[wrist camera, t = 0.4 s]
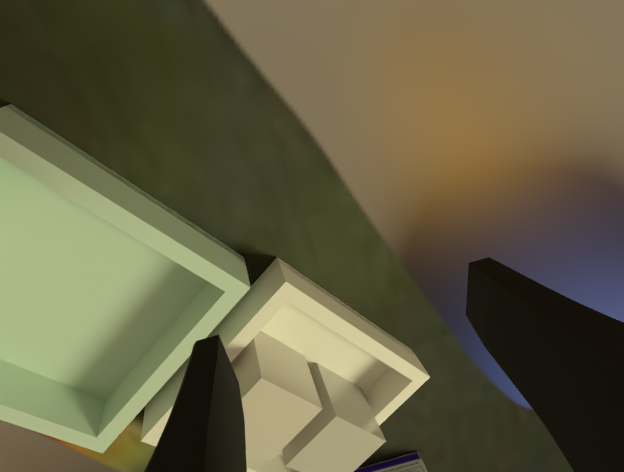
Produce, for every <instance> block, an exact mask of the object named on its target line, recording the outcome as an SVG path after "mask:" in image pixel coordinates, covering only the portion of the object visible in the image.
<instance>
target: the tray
mask: <svg viewBox="0 0 624 472" xmlns="http://www.w3.org/2000/svg"><path fill="white" fill-rule="evenodd" d="M260 331H262V332H264V333H266V334H267V335H269V336H271V337H273V338H274V339H276V340H278V341H280V342H281V343H283V344H285V345H287V346H288V347H290V348H292V349H294V350H295V351H297V352H299V353H301V354H302V355H304V356H305V358H306V361H307V364H308V367H309V370H310V369H311V368H312V367H313V366H314V365H315V364H316V363H318V364H320V365H322V366H323V367H325V368H327V369H329V370H330V371H332V372H334V373H336V374H337V375H339V376H341V377H343V378H344V379H346V380H348V381H350V382H351V383H353V384H355V385H357V386H358V387H360V388H362V390H363V393H364V395H365V397H366V399H367V401H368V403H369V406H370V408H371V410H372V412H373V414H374V416H375V418H376V421H377V423H378V425H380V424H381V423H383V422H384V421H385V420H386V419H387V418H388V417H389V416H390V415H391V414H392V413H393V412H394V411H395V410H396V409H397V408H398V407H399V406H400V405H401V404H402V403H403V402H405V401H406V400H407V399H408V398H409V397H410V396H411V395H412V394H413V393H414V392H415V391H416V390H417V389H418V388H419V387H420V386H421V385H422V384H423V383H424V382H426V381H427V380H428V379H429V378H430V376H429V375H428V373H427V372H426V370H425V369H424V367H423V366H422V364H421V363H420V361H419V360H418V358H417V357H416V355H415V354H414V352H413V351H412V350H411V349H410V348H409V347H407V346H406V345H404V344H403V343H401V342H400V341H398V340H397V339H395V338H394V337H393V336H391V335H390V334H388V333H387V332H385V331H384V330H382V329H381V328H379V327H378V326H377V325H375V324H374V323H372V322H371V321H369V320H368V319H366V318H365V317H364V316H362V315H361V314H359V313H358V312H356V311H355V310H353V309H352V308H350V307H349V306H348V305H346V304H345V303H343V302H342V301H340V300H339V299H337V298H336V297H334V296H333V295H332V294H330V293H329V292H327V291H326V290H324V289H323V288H321V287H320V286H319V285H317V284H316V283H314V282H313V281H311V280H310V279H308V278H307V277H305V276H304V275H303V274H301V273H300V272H298V271H297V270H295V269H294V268H292V267H291V266H289V265H288V264H287V263H285V262H284V261H282V260H281V259H279V258H278V257H277V258H276V259H275V260H274V261H273V262H272V263H271V264H270V266H269V267H268V268H267V269H266V270H265V271H264V272H263V273H262V275H261V276H260V277H259V278H258V279H257V280H256V281H255V282H254V283H253V285H252V286H251V288H250V289H249V290H248V291H247V293H246V294H245V295H244V296H243V297H242V298H241V299H240V300H239V301H238V303H237V304H236V305H235V306H234V307H233V308H232V309H231V310H230V312H229V313H228V314H227V315H226V316H225V317H224V318H223V319H222V320H221V322H220V323H219V324H218V325H217V326H216V327H215V328H214V329H213V330H212V332H211V333H210V334H209V335H208V336H207V337H206V338H208V337H212V336H215V335H219V336H220V339H221V341H222V343H223V346H224V348H225V351H226V353H227V355H228V358H229V360H230V363H231V362H232V361H233V360H234V359H235V358H236V357H237V356H238V354H239V353H240V352H241V351H242V350H243V349H244V348H245V347H246V346H247V345H248V344H249V343H250V341H251V340H252V339H253V338H254V337H255V336H256V335H257V334H258V333H259V332H260ZM190 356H191V355H190ZM190 356H189V357H188V358H187V360H186V361H185V362H184V363H183V364H182V365H181V366H180V367H179V368H178V370H177V371H176V372H175V373H174V374H173V375H172V376H171V377H170V379H169V380H168V381H167V382H166V383H165V384H164V385H163V386H162V387H161V389H160V390H159V391H158V392H157V393H156V394H155V395H154V396H153V397H152V399H151V400H150V401H149V402H148V403H147V404H146V405H145V412H144V419H143V427H142V434H141V441H142V442H145V443H148V444H150V445H153V446H157V443H158V441H159V439H160V437H161V434H162V432H163V430H164V428H165V425H166V423H167V421H168V418H169V416H170V413H171V410H172V408H173V405H174V403H175V400H176V397H177V395H178V392H179V389H180V387H181V384H182V381H183V378H184V375H185V372H186V369H187V366H188V362H189V359H190ZM246 465H247V472H299V471H297V470H294V469H292V468H289V467H287V466H285V461H284V456H283V451H282V450H281V451H280V452H279V453H278V454H277V455H276V456H275V457H274V458H273V459H272V460H269V459H267V458H264V457H262V456H259V455H257V454H254V453H252V452H249V451H247V450H246Z"/></svg>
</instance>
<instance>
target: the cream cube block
mask: <svg viewBox="0 0 624 472" xmlns="http://www.w3.org/2000/svg"><path fill="white" fill-rule="evenodd" d="M310 373H311V376H312V379H313V382H314V385H315V388H316V391H317V394H318V397H319V400H320V402H321V405H322V408H323V409H322V410H321V411H320V412H319V413H318V414H317V415H316V416H315V417H314V418H313V419H312V420H311V421H310V422H309V423H308V424H307V425H306V426H305V427H304V428H303V429H302V430H301V431H300V432H299V433H298V434H297V435H296V436H295V437H294V438H293V439H292V440H291V441H290V442H289V443H288V444H287V445H286V446H285V447H284V448H283V449H282V451H283V456H284V461H285V466H287V467H289V468H292V469H294V470H297V471H299V472H354V471H355V470H356V469H357V468H358V467H359V466H360V465H361V464H362V463H363V462H364V461H365V460H366V459H368V458H369V457H370V456H371V455H372V454H373V453H374V452H375V451H376V450H377V449H378V448H379V447H380V446H381V445H382V444H383V443H385V442H386V440H385V438H384V436H383V434H382V431H381V429H380V427H379V425H378V423H377V421H376V418H375V416H374V414H373V412H372V410H371V408H370V406H369V403H368V401H367V399H366V397H365V395H364V393H363V390H362V388H360V387H358V386H357V385H355V384H353V383H351V382H350V381H348V380H346V379H344V378H343V377H341V376H339V375H337V374H336V373H334V372H332V371H330V370H329V369H327V368H325V367H323V366H322V365H320V364H318V363H316V364H315V365H314V366H313V367H312V368H311V369H310Z"/></svg>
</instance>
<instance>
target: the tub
mask: <svg viewBox="0 0 624 472" xmlns="http://www.w3.org/2000/svg"><path fill="white" fill-rule="evenodd" d="M250 288H251V287H250V282H249V277H248V273H247V268H246V263H245V259H244V257H243V256H242V255H240V254H239V253H237V252H236V251H234V250H233V249H231V248H230V247H228V246H227V245H225V244H224V243H222V242H221V241H219V240H217V239H216V238H214V237H213V236H211V235H210V234H208V233H207V232H205V231H204V230H202V229H201V228H199V227H198V226H196V225H195V224H193V223H192V222H190V221H189V220H187V219H186V218H184V217H183V216H181V215H179V214H178V213H176V212H175V211H173V210H172V209H170V208H169V207H167V206H166V205H164V204H163V203H161V202H160V201H158V200H157V199H155V198H154V197H152V196H151V195H149V194H148V193H146V192H145V191H143V190H141V189H140V188H138V187H137V186H135V185H134V184H132V183H131V182H129V181H128V180H126V179H125V178H123V177H122V176H120V175H119V174H117V173H116V172H114V171H113V170H111V169H110V168H108V167H107V166H105V165H104V164H102V163H100V162H99V161H97V160H96V159H94V158H93V157H91V156H90V155H88V154H87V153H85V152H84V151H82V150H81V149H79V148H78V147H76V146H75V145H73V144H72V143H70V142H69V141H67V140H66V139H64V138H62V137H61V136H59V135H58V134H56V133H55V132H53V131H52V130H50V129H49V128H47V127H46V126H44V125H43V124H41V123H40V122H38V121H37V120H35V119H34V118H32V117H31V116H29V115H28V114H26V113H24V112H23V111H21V110H20V109H18V108H17V107H15V106H14V105H12V104H10V105H7V106H4V107H2V108H0V420H3V421H6V422H9V423H12V424H15V425H18V426H21V427H24V428H27V429H30V430H33V431H36V432H39V433H42V434H45V435H48V436H51V437H54V438H57V439H60V440H63V441H66V442H70V443H73V444H76V445H79V446H82V447H85V448H88V449H91V450H94V451H97V452H100V453H103V452H104V451H105V450H106V449H107V448H108V447H109V446H110V444H111V443H112V442H113V441H114V440H115V439H116V438H117V437H118V435H119V434H120V433H121V432H122V431H123V430H124V429H125V428H126V427H127V425H128V424H129V423H130V422H131V421H132V420H133V419H134V418H135V416H136V415H137V414H138V413H139V412H140V411H141V410H142V409H143V408H144V406H145V405H146V404H147V403H148V402H149V401H150V400H151V399H152V397H153V396H154V395H155V394H156V393H157V392H158V391H159V390H160V389H161V387H162V386H163V385H164V384H165V383H166V382H167V381H168V380H169V379H170V377H171V376H172V375H173V374H174V373H175V372H176V371H177V370H178V368H179V367H180V366H181V365H182V364H183V363H184V362H185V361H186V360H187V358H188V357H189V356H190V355H191V352H192V349H193V345H194V344H195V342H196V341H198V340H201V339H205V338H206V337H207V336H208V335H209V334H210V333H211V332H212V330H213V329H214V328H215V327H216V326H217V325H218V324H219V323H220V322H221V320H222V319H223V318H224V317H225V316H226V315H227V314H228V313H229V312H230V310H231V309H232V308H233V307H234V306H235V305H236V304H237V303H238V301H239V300H240V299H241V298H242V297H243V296H244V295H245V294H246V293H247V291H248V290H249V289H250Z"/></svg>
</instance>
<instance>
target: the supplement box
mask: <svg viewBox="0 0 624 472" xmlns="http://www.w3.org/2000/svg"><path fill="white" fill-rule="evenodd" d="M354 472H427V470H426V467H425V465H424V463H423V461H422V459H421V457H420V454H419V452H415V453H410V454H407V455H403V456H400V457H397V458H394V459H390V460H387V461H383V462H380V463H377V464H372V465H369V466H366V467H362V468H358V469H356V470H355V471H354Z"/></svg>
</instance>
